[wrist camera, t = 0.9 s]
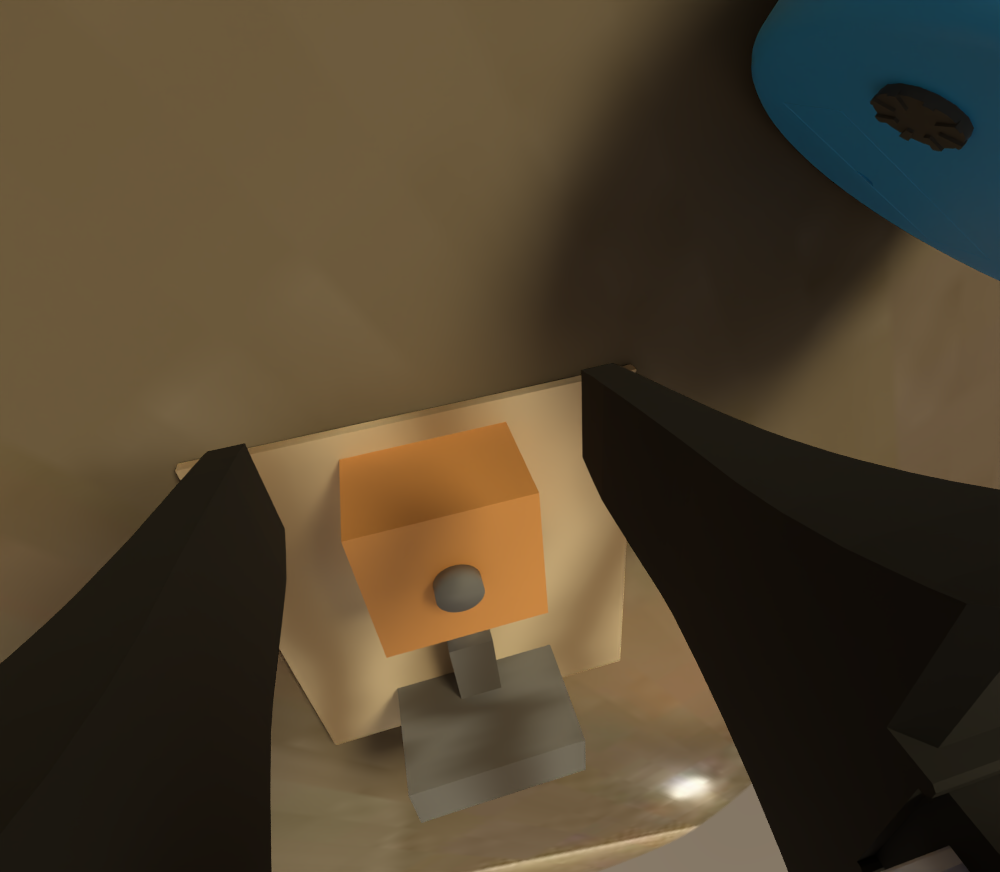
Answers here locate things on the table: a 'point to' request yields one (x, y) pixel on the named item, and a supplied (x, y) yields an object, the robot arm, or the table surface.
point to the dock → (336, 594)
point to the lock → (444, 537)
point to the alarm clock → (895, 110)
